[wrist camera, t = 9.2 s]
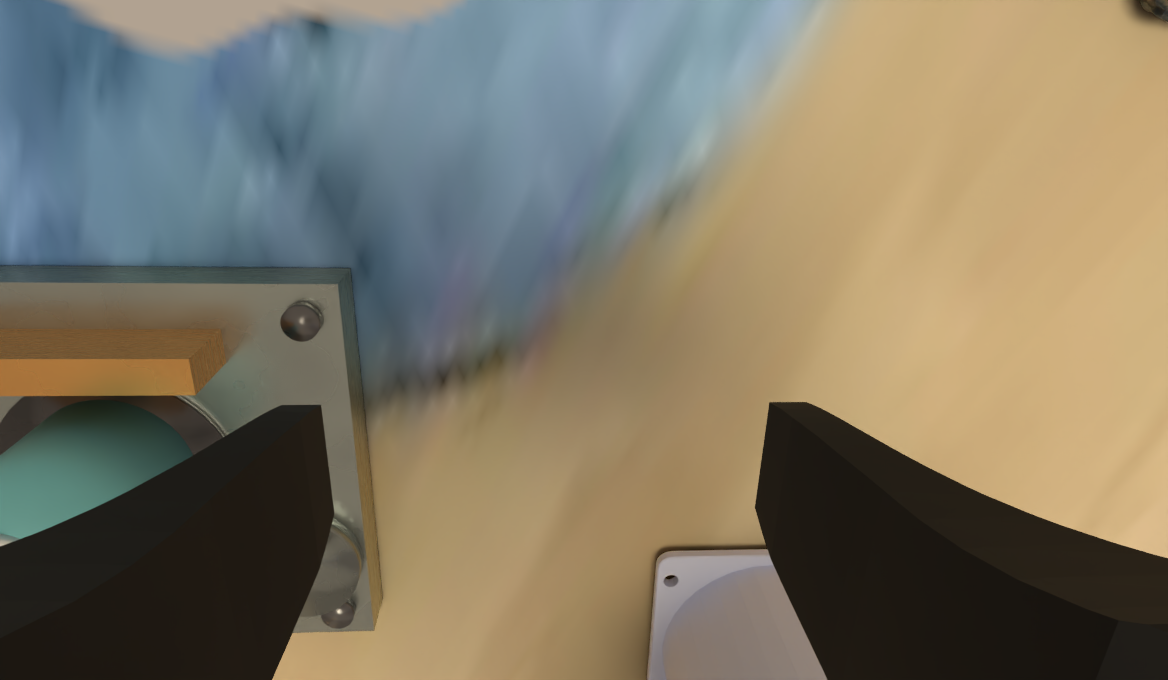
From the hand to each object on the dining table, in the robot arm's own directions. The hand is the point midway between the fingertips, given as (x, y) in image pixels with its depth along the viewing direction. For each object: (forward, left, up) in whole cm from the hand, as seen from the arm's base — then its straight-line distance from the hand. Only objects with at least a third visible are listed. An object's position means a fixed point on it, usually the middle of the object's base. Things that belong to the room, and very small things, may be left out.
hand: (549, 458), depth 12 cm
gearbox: (-6, +11, -10) cm, 16 cm away
